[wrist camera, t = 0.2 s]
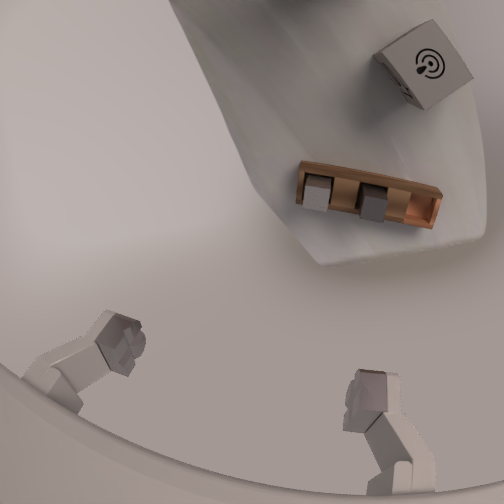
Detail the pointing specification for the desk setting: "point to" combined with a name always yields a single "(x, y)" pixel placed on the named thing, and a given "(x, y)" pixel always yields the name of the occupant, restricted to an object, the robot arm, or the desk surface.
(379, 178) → the wooden compartment tray
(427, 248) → the desk surface
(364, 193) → the block
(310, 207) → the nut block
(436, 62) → the icon cube
